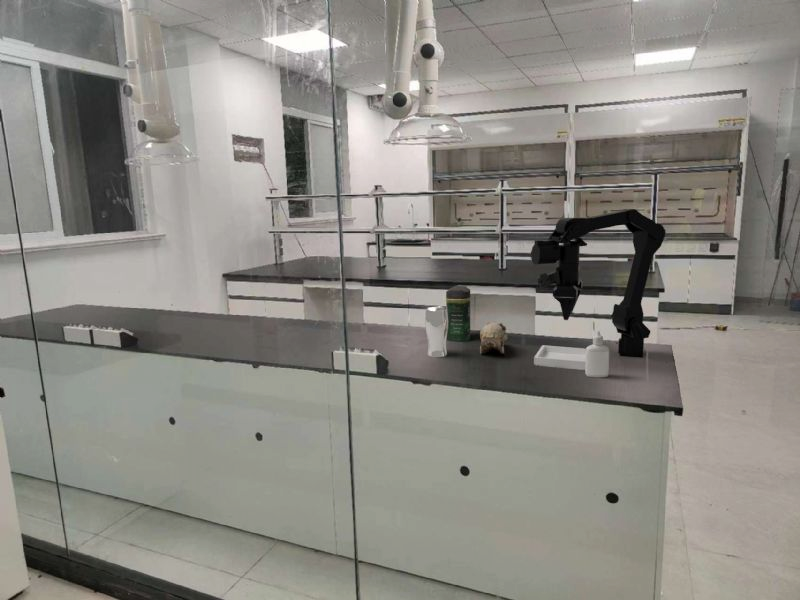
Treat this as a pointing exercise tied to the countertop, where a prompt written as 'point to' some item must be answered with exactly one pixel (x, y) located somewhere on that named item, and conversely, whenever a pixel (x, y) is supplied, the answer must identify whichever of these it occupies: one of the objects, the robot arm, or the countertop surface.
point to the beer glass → (436, 330)
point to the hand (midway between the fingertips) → (567, 316)
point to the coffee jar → (458, 313)
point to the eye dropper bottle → (597, 358)
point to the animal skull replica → (493, 338)
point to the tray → (561, 357)
